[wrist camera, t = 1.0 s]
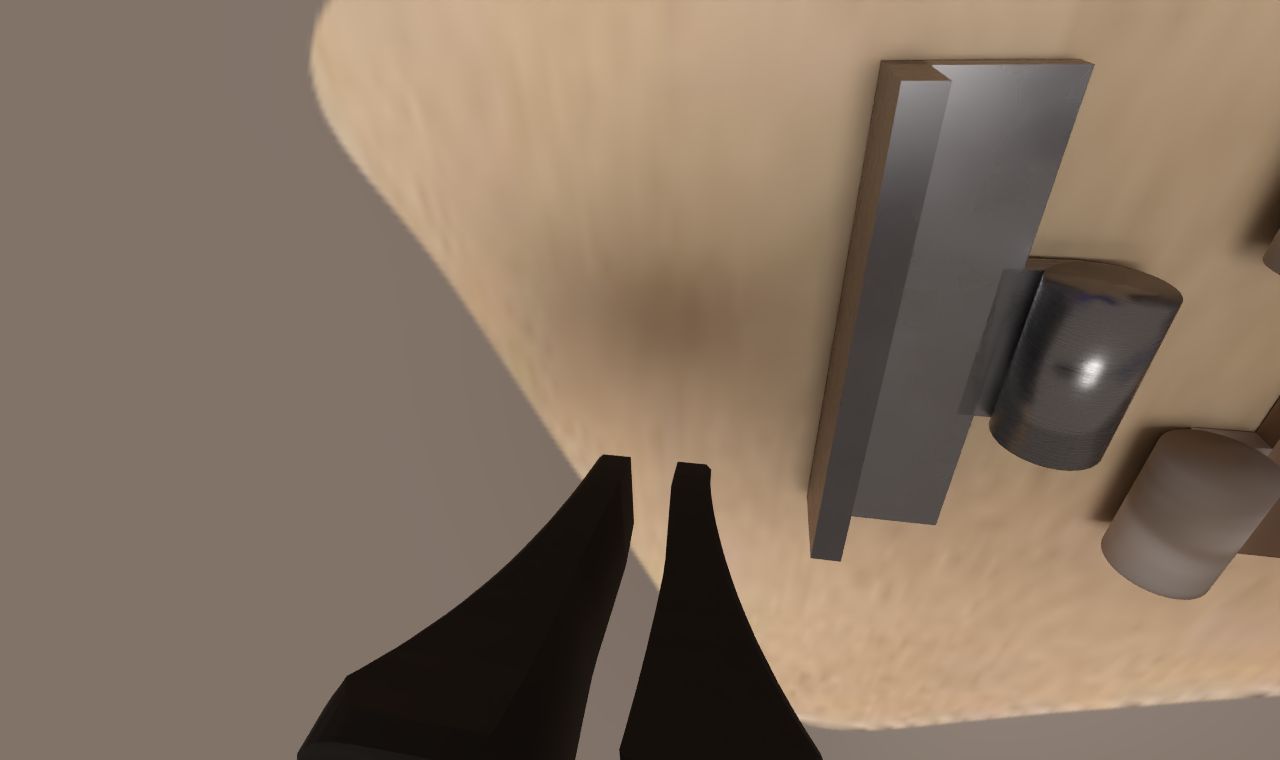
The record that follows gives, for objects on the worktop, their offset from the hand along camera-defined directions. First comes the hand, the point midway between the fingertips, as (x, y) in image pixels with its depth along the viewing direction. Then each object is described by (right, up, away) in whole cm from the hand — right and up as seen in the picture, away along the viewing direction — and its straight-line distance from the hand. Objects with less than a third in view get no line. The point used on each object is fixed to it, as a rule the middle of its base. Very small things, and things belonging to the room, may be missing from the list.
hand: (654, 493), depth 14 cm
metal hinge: (+10, +4, +5) cm, 12 cm away
